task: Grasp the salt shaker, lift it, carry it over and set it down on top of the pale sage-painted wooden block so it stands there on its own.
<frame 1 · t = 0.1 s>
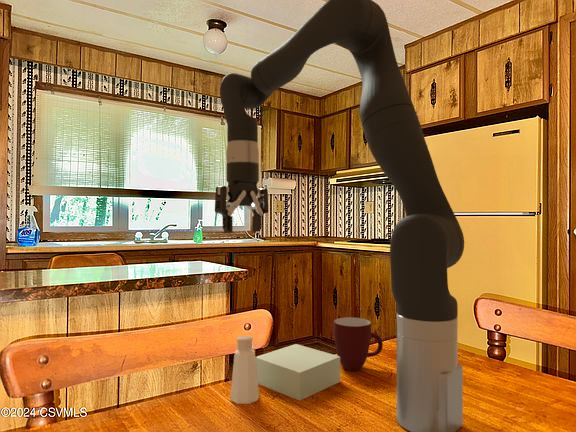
hand: (242, 232, 98), 29 cm above the table, fingers open, 8 cm apart
sage box: (297, 382, 84), on the table
salt shaker: (244, 399, 77), on the table
mug: (357, 368, 92), on the table
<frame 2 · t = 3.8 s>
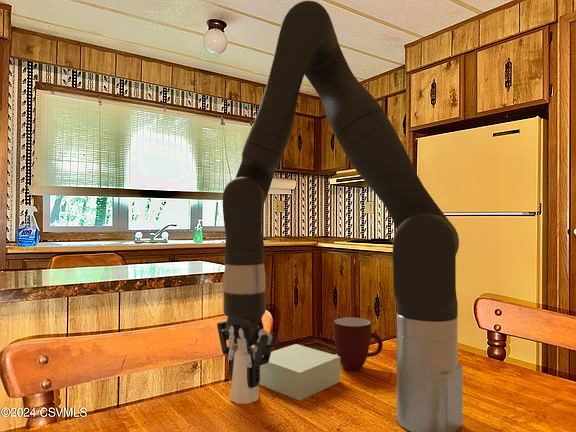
hand: (244, 382, 77), 3 cm above the table, fingers closed on salt shaker, 4 cm apart
salt shaker: (244, 399, 77), on the table, touching gripper
everything else where it was.
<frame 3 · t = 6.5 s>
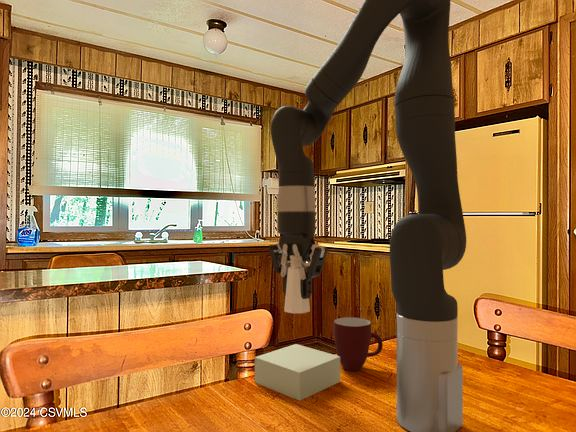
hand: (296, 296, 84), 17 cm above the table, fingers closed on salt shaker, 4 cm apart
salt shaker: (297, 311, 84), point 14 cm above the table, touching gripper
everything else where it was.
when the fingers open (8 cm above the table, at t = 9.2 s): salt shaker stays where it is, resting on sage box.
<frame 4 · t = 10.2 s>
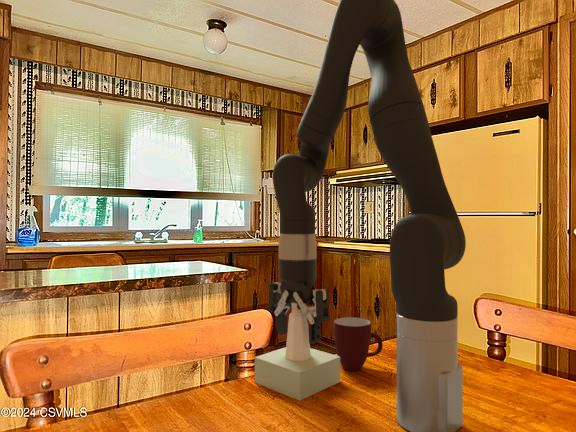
hand: (297, 338, 84), 9 cm above the table, fingers open, 8 cm apart
salt shaker: (298, 357, 84), point 5 cm above the table, touching sage box
everything else where it was.
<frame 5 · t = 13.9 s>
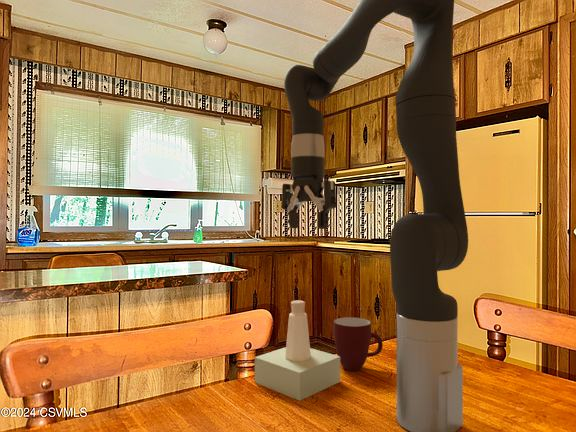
hand: (307, 228, 95), 30 cm above the table, fingers open, 8 cm apart
nothing on the table moved.
at the end: salt shaker inside the target area on the sage box (0.1 cm from its centre), point 4.8 cm above the sage box's base; salt shaker tilted 0°; salt shaker touching sage box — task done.
